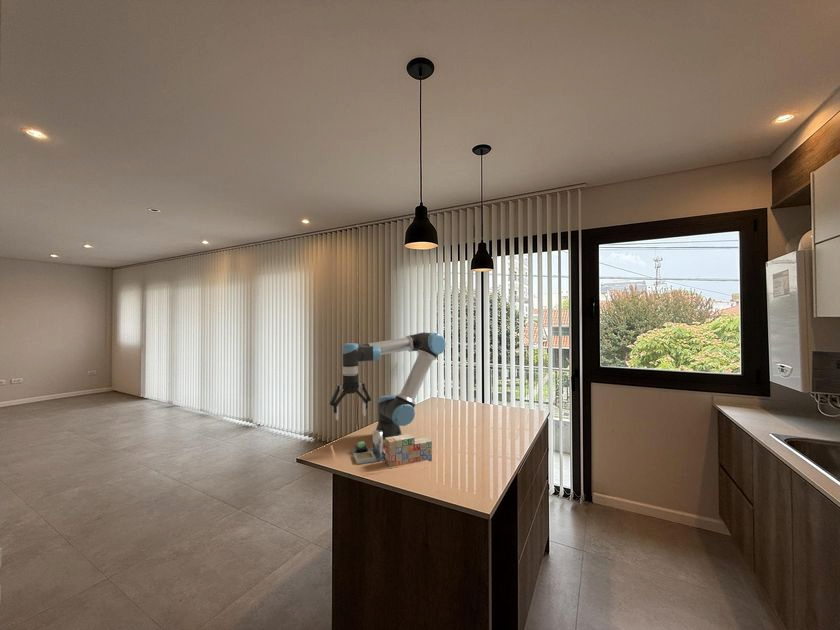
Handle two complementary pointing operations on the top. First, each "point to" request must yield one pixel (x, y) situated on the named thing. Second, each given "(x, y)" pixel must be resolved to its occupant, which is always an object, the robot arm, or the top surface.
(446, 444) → the top surface
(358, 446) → the button
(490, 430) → the top surface
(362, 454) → the panel
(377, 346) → the robot arm
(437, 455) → the top surface
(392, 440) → the stack of blocks
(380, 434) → the cylinder
